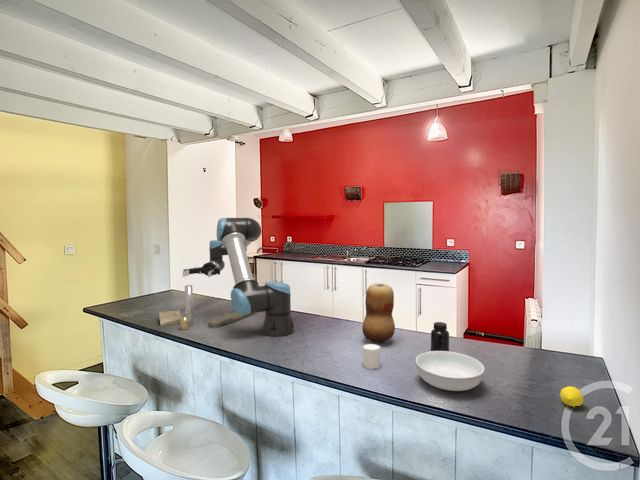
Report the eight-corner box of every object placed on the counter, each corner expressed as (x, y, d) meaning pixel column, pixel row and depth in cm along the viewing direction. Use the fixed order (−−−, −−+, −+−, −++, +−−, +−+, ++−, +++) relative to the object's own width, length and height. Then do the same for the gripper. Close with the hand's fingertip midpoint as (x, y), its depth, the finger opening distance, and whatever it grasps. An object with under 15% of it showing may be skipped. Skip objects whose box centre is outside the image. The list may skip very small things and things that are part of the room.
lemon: (562, 400, 107) (563, 381, 107) (584, 406, 103) (585, 387, 103) (557, 406, 102) (558, 386, 102) (580, 413, 98) (582, 393, 98)
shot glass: (368, 360, 136) (368, 342, 136) (384, 365, 132) (384, 346, 131) (358, 366, 131) (358, 347, 130) (374, 371, 126) (374, 351, 126)
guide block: (181, 323, 186) (181, 316, 186) (160, 325, 182) (160, 318, 181) (179, 316, 198) (178, 310, 198) (159, 318, 194) (158, 312, 194)
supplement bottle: (426, 352, 144) (427, 322, 143) (441, 349, 146) (441, 320, 146) (438, 358, 137) (438, 327, 137) (452, 355, 140) (453, 325, 139)
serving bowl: (405, 388, 114) (405, 366, 114) (426, 365, 131) (426, 346, 131) (477, 407, 102) (477, 383, 102) (489, 379, 120) (490, 358, 119)
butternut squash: (377, 350, 146) (377, 288, 145) (356, 340, 157) (356, 283, 156) (401, 343, 154) (402, 284, 152) (380, 334, 165) (380, 280, 163)
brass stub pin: (189, 330, 175) (188, 317, 174) (181, 331, 173) (180, 318, 173) (188, 328, 178) (187, 315, 177) (180, 329, 176) (180, 316, 176)
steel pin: (193, 325, 181) (192, 286, 180) (186, 326, 180) (185, 286, 178) (192, 324, 184) (191, 284, 183) (185, 324, 183) (184, 285, 181)
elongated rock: (202, 329, 181) (217, 333, 176) (202, 319, 180) (217, 322, 175) (247, 309, 211) (261, 312, 207) (247, 300, 211) (261, 303, 206)
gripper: (231, 274, 211) (219, 281, 190) (189, 274, 212) (173, 281, 191) (231, 262, 210) (219, 267, 189) (189, 261, 212) (172, 267, 191)
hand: (196, 274), depth 190 cm, fingers open, 13 cm apart
